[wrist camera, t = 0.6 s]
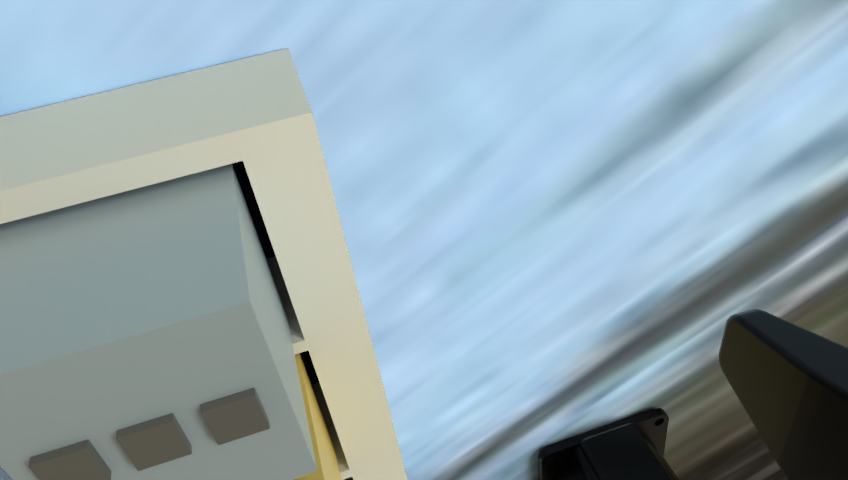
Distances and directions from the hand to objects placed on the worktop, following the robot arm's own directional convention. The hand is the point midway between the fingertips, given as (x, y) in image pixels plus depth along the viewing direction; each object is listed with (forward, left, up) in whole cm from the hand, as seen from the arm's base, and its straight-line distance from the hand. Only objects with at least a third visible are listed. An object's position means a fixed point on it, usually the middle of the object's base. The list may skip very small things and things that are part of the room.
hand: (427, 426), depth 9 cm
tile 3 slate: (-2, +5, -9) cm, 10 cm away
